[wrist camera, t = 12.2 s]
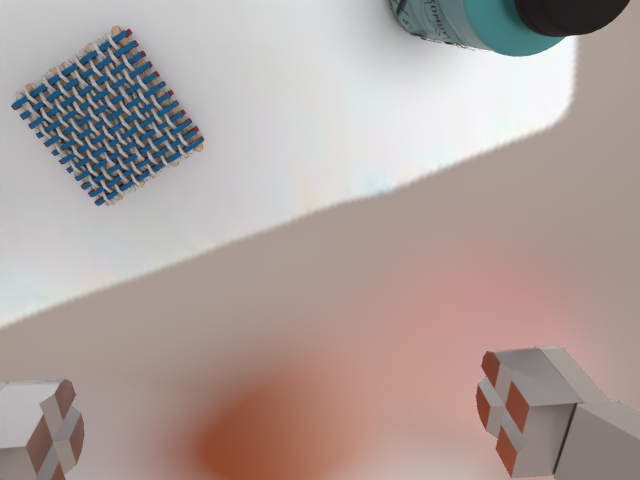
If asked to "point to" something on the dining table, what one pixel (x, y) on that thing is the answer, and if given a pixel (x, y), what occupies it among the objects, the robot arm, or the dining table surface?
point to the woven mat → (109, 118)
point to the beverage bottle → (505, 21)
